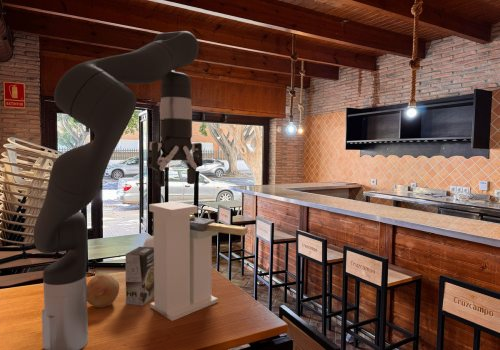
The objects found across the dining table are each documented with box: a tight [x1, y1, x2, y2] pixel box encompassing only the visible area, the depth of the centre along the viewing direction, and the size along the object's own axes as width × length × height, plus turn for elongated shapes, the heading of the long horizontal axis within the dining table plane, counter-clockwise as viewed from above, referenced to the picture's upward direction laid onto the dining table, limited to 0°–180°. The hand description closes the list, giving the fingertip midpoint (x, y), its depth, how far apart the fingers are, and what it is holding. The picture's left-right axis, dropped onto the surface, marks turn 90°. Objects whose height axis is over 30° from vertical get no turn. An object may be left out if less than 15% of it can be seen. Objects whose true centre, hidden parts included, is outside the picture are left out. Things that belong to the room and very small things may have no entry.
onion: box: [86, 273, 120, 308], centre depth 105 cm, size 10×10×10 cm
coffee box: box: [125, 246, 154, 307], centre depth 110 cm, size 9×6×16 cm
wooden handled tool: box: [190, 214, 249, 236], centre depth 105 cm, size 6×22×4 cm, turn 64°
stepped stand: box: [148, 200, 219, 322], centre depth 106 cm, size 17×12×32 cm
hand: (176, 185), depth 83 cm, fingers open, 8 cm apart
